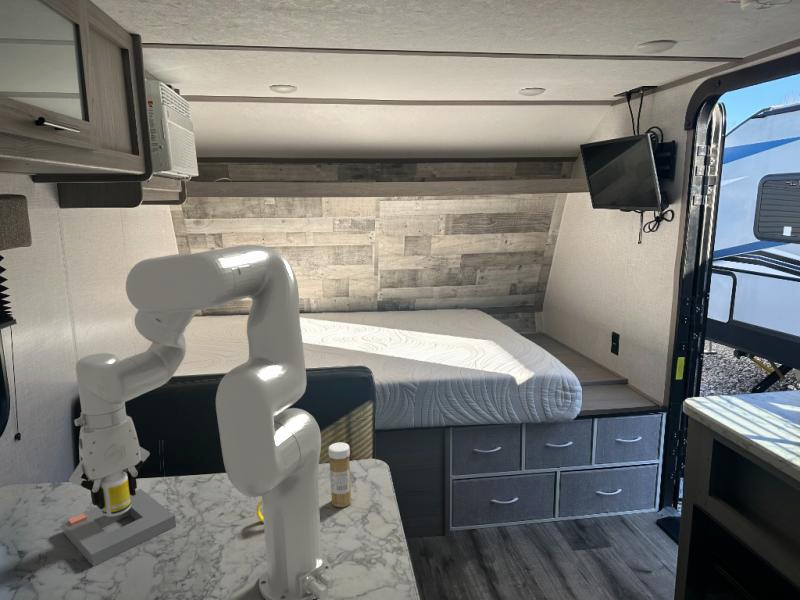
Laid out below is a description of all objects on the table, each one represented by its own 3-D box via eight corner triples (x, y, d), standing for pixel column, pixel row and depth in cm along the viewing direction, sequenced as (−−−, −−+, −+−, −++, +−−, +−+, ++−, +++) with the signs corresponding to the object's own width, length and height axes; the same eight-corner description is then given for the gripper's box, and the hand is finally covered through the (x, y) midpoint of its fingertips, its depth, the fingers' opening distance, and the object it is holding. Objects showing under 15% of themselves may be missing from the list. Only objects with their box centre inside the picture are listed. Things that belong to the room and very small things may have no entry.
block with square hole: (176, 526, 113) (174, 513, 112) (93, 566, 101) (91, 551, 101) (141, 498, 123) (140, 486, 123) (63, 532, 112) (61, 518, 111)
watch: (257, 527, 113) (253, 501, 112) (260, 519, 115) (256, 494, 114) (286, 524, 113) (282, 498, 112) (288, 516, 116) (285, 491, 114)
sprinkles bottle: (352, 496, 123) (350, 441, 120) (350, 508, 118) (347, 451, 115) (332, 496, 123) (330, 441, 120) (329, 508, 118) (326, 451, 116)
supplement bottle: (137, 502, 114) (131, 459, 112) (121, 518, 109) (115, 473, 107) (112, 501, 114) (106, 458, 112) (96, 516, 109) (89, 472, 107)
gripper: (63, 437, 99) (76, 526, 102) (156, 408, 111) (165, 488, 115) (49, 425, 103) (62, 511, 107) (140, 399, 116) (149, 476, 120)
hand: (115, 498), depth 111 cm, fingers closed on supplement bottle, 5 cm apart
